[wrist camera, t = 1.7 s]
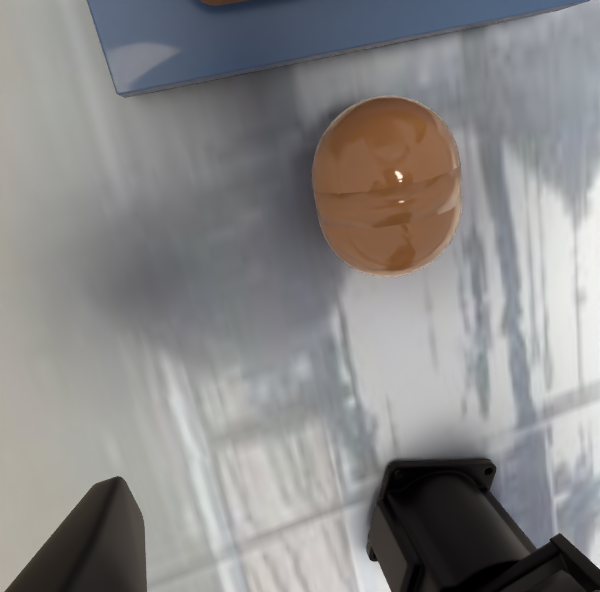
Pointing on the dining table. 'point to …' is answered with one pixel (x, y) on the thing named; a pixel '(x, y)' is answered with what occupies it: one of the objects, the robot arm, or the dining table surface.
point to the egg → (387, 186)
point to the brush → (270, 33)
